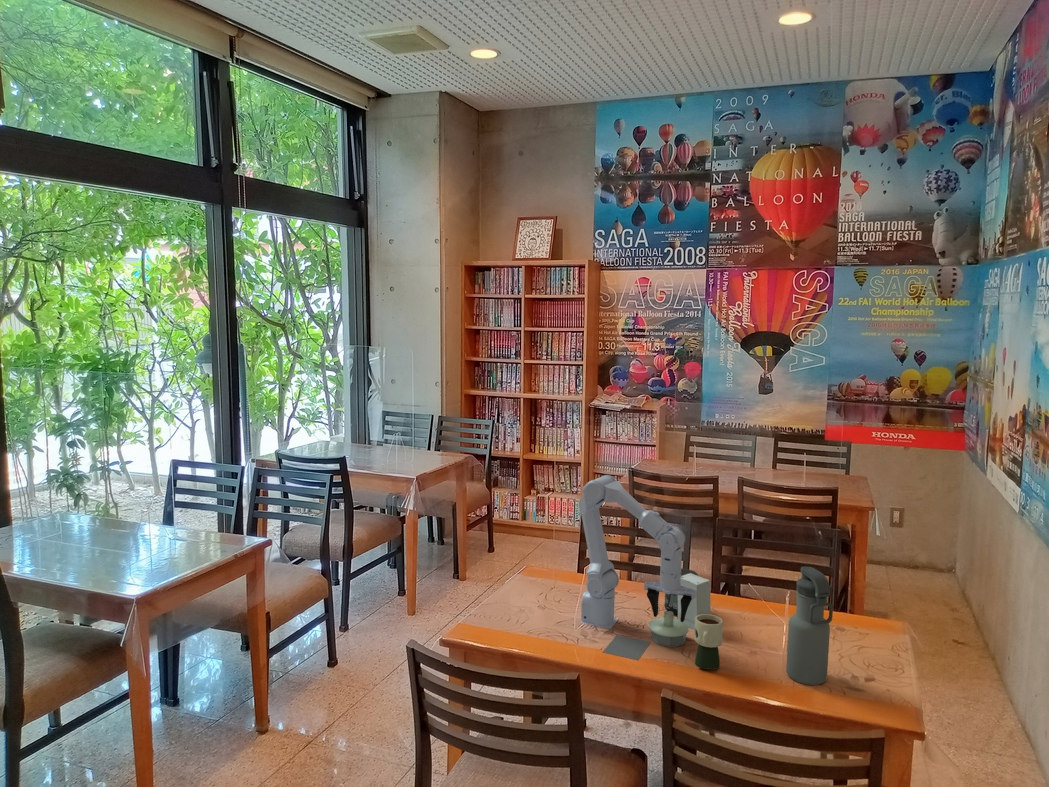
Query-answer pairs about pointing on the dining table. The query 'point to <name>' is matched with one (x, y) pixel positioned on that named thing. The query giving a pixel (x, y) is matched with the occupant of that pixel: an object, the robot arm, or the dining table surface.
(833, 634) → the dining table surface
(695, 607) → the skincare box
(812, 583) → the water bottle
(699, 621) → the character mug
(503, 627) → the dining table surface
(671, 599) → the supplement container
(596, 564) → the robot arm
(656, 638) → the bowl
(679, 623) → the lid
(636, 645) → the mat
